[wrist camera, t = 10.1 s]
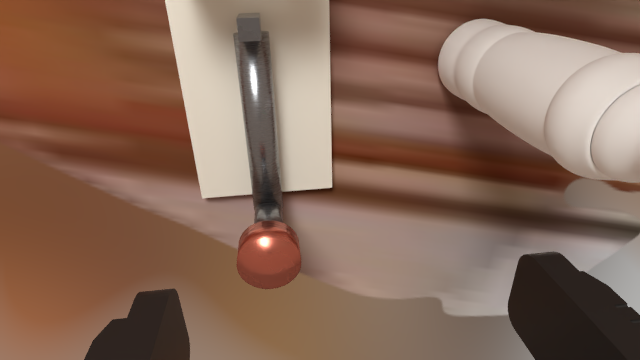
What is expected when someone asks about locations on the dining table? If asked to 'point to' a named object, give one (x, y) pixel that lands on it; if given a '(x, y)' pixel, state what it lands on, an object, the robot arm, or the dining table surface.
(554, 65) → the water bottle
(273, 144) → the ball knob lever
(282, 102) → the cream l-shaped stand
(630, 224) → the dining table surface
